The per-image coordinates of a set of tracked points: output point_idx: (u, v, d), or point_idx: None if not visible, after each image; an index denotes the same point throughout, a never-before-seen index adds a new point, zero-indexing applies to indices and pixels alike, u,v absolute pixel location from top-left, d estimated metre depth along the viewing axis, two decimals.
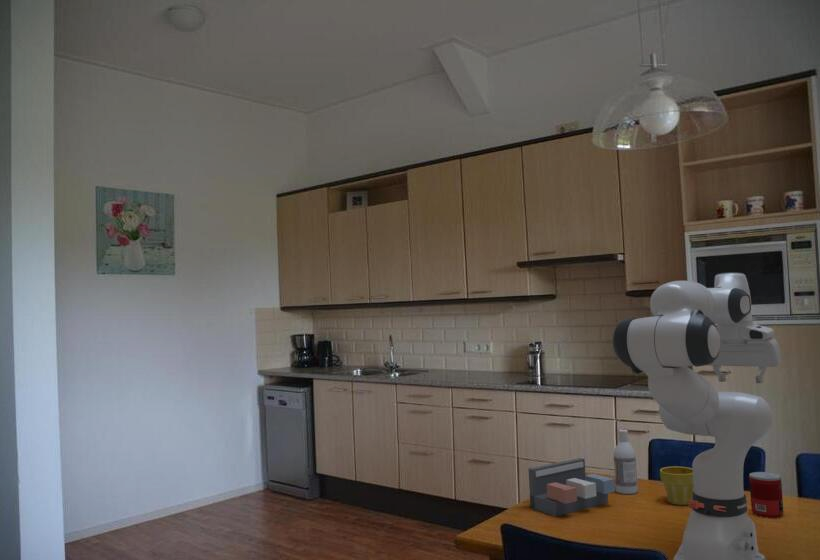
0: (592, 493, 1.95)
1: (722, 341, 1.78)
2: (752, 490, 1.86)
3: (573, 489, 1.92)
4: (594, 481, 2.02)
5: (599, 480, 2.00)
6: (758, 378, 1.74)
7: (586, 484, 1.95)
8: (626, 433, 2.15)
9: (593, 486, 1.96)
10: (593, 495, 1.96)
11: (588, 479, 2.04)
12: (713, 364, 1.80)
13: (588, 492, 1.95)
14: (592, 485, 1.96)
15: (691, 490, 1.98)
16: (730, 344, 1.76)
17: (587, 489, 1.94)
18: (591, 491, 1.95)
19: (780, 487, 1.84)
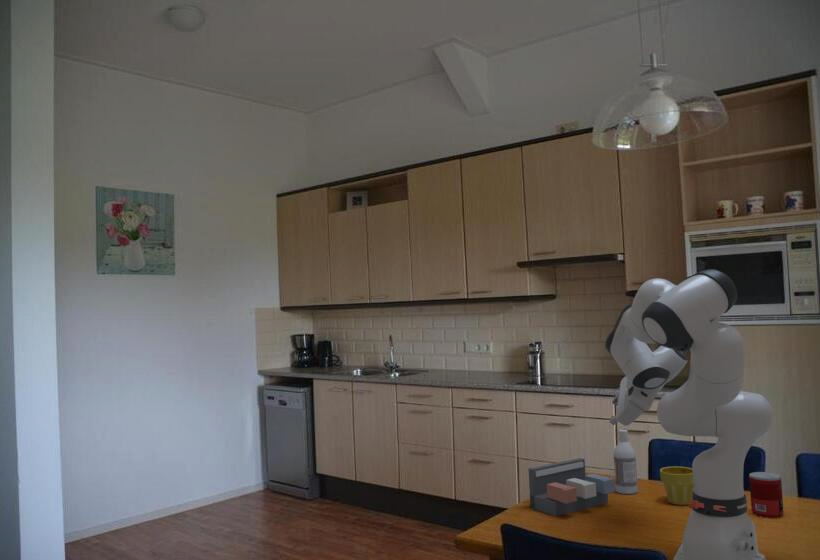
0: (592, 493, 1.95)
1: None
2: (752, 490, 1.86)
3: (573, 489, 1.92)
4: (594, 481, 2.02)
5: (599, 480, 2.00)
6: (611, 417, 1.93)
7: (586, 484, 1.95)
8: (626, 433, 2.15)
9: (593, 486, 1.96)
10: (593, 495, 1.96)
11: (588, 479, 2.04)
12: (620, 387, 2.00)
13: (588, 492, 1.95)
14: (592, 485, 1.96)
15: (691, 490, 1.98)
16: None
17: (587, 489, 1.94)
18: (591, 491, 1.95)
19: (780, 487, 1.84)
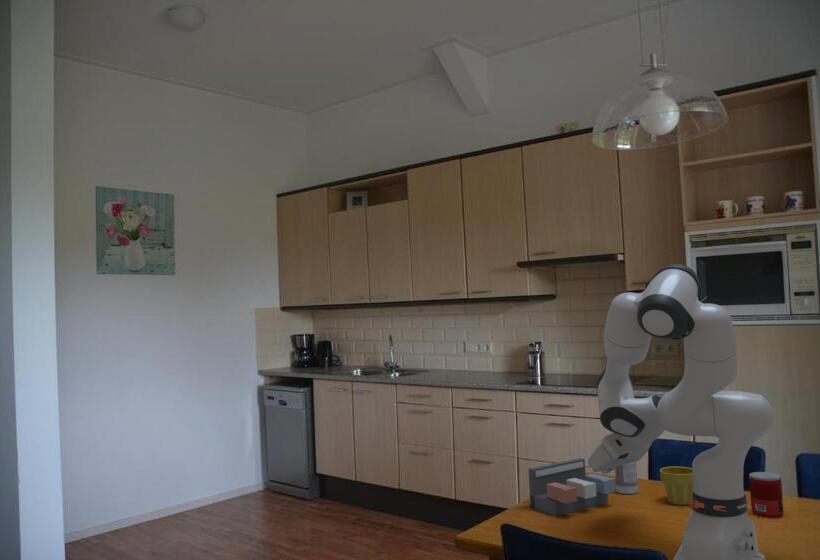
0: (592, 493, 1.95)
1: None
2: (752, 490, 1.86)
3: (573, 489, 1.92)
4: (594, 481, 2.02)
5: (599, 480, 2.00)
6: None
7: (586, 484, 1.95)
8: None
9: (593, 486, 1.96)
10: (593, 495, 1.96)
11: (588, 479, 2.04)
12: None
13: (588, 492, 1.95)
14: (592, 485, 1.96)
15: (691, 490, 1.98)
16: None
17: (587, 489, 1.94)
18: (591, 491, 1.95)
19: (780, 487, 1.84)
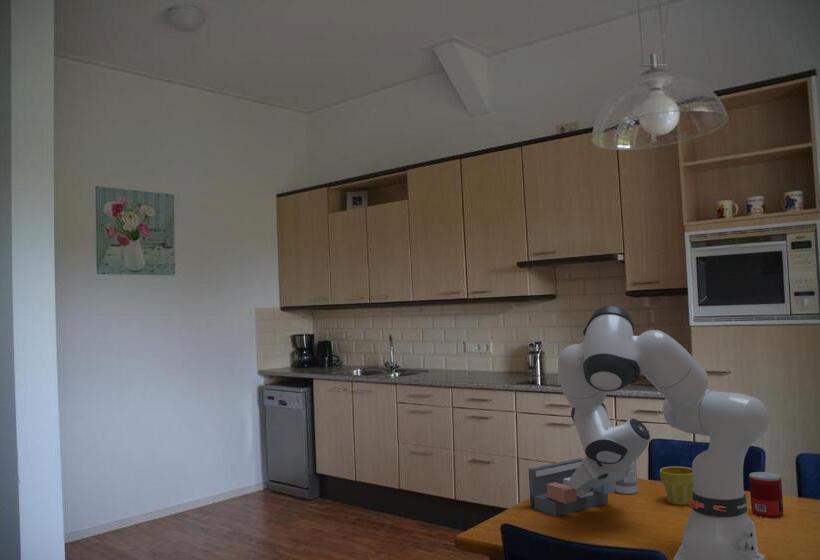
0: None
1: None
2: (752, 490, 1.86)
3: (573, 489, 1.92)
4: None
5: None
6: None
7: None
8: None
9: None
10: (589, 494, 1.97)
11: None
12: None
13: (584, 491, 1.96)
14: None
15: (691, 490, 1.98)
16: None
17: None
18: None
19: (780, 487, 1.84)
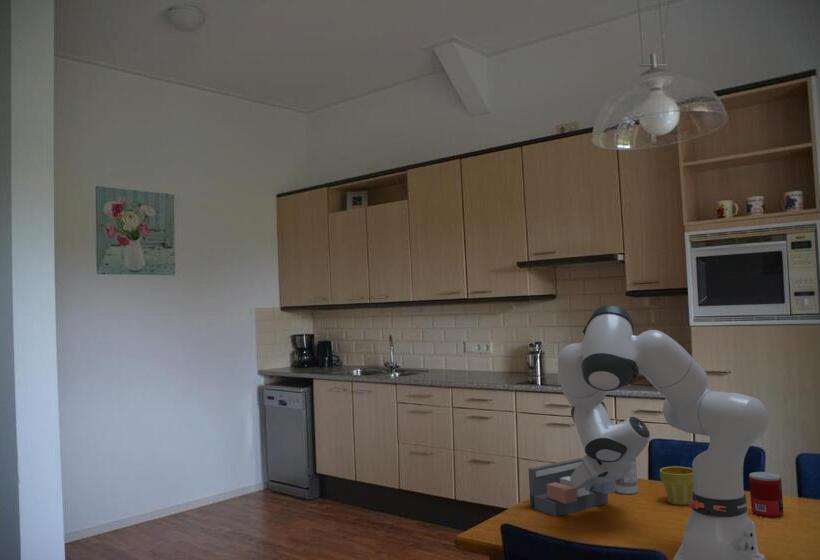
0: (585, 491, 1.98)
1: None
2: (752, 490, 1.86)
3: (573, 489, 1.92)
4: None
5: None
6: None
7: None
8: None
9: None
10: (586, 493, 1.98)
11: None
12: None
13: (581, 490, 1.97)
14: None
15: (691, 490, 1.98)
16: None
17: None
18: (584, 489, 1.98)
19: (780, 487, 1.84)
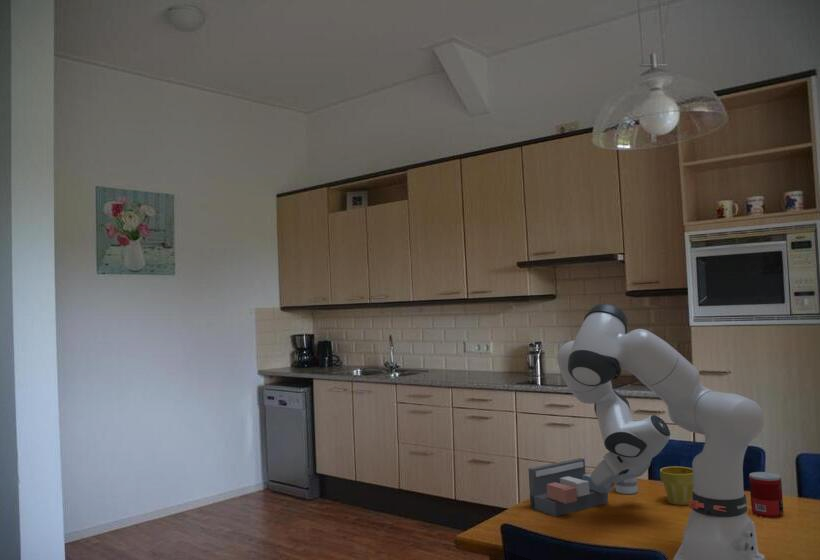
0: (585, 491, 1.98)
1: None
2: (752, 490, 1.86)
3: (573, 489, 1.92)
4: (591, 480, 2.03)
5: None
6: None
7: (579, 482, 1.98)
8: None
9: (586, 484, 1.98)
10: (586, 493, 1.98)
11: (586, 478, 2.05)
12: None
13: (581, 490, 1.97)
14: (585, 483, 1.98)
15: (691, 490, 1.98)
16: None
17: (580, 487, 1.97)
18: (584, 489, 1.98)
19: (780, 487, 1.84)
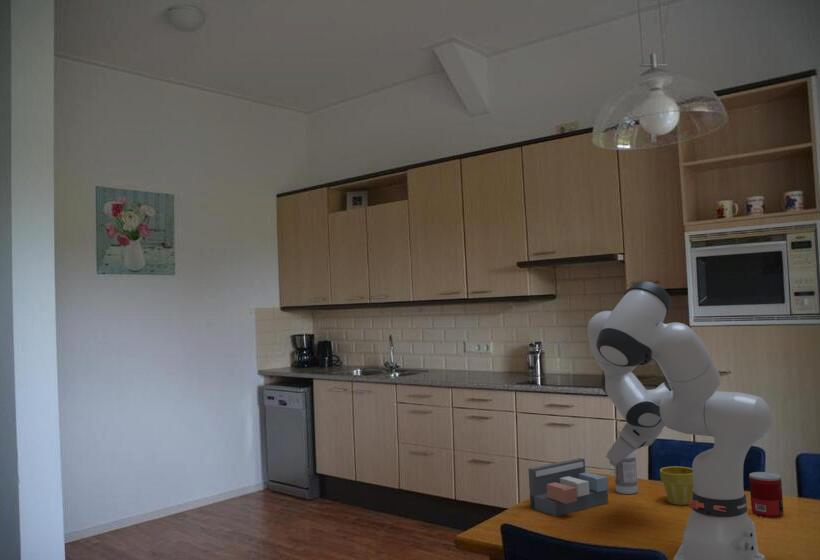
0: (585, 491, 1.98)
1: None
2: (752, 490, 1.86)
3: (573, 489, 1.92)
4: (587, 479, 2.04)
5: (592, 478, 2.03)
6: None
7: (579, 482, 1.98)
8: None
9: (586, 484, 1.98)
10: (586, 493, 1.98)
11: (582, 477, 2.06)
12: None
13: (581, 490, 1.97)
14: (585, 483, 1.98)
15: (691, 490, 1.98)
16: None
17: (580, 487, 1.97)
18: (584, 489, 1.98)
19: (780, 487, 1.84)
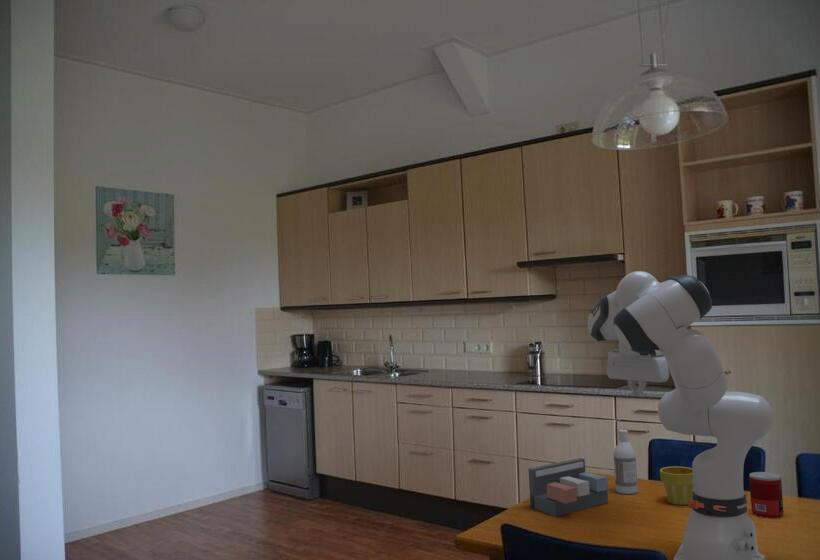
0: (585, 491, 1.98)
1: (623, 357, 1.97)
2: (752, 490, 1.86)
3: (573, 489, 1.92)
4: (587, 479, 2.04)
5: (592, 478, 2.03)
6: (637, 391, 1.93)
7: (579, 482, 1.98)
8: (626, 433, 2.15)
9: (586, 484, 1.98)
10: (586, 493, 1.98)
11: (582, 477, 2.06)
12: (616, 377, 1.99)
13: (581, 490, 1.97)
14: (585, 483, 1.98)
15: (691, 490, 1.98)
16: (626, 359, 1.94)
17: (580, 487, 1.97)
18: (584, 489, 1.98)
19: (780, 487, 1.84)
